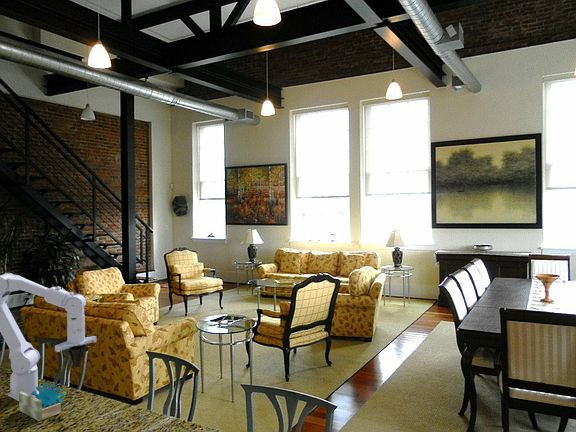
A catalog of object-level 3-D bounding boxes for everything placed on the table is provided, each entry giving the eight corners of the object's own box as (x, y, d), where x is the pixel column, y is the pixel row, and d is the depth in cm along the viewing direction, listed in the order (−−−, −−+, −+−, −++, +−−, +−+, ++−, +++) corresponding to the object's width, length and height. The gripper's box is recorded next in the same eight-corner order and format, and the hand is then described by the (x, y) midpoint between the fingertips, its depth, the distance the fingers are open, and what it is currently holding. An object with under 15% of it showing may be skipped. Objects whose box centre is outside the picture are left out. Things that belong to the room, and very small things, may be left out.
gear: (33, 412, 145) (30, 383, 151) (27, 421, 148) (24, 393, 153) (69, 406, 152) (65, 379, 158) (63, 415, 155) (59, 388, 161)
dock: (19, 410, 150) (19, 392, 150) (41, 403, 156) (40, 385, 156) (38, 421, 143) (38, 402, 142) (61, 412, 148) (60, 394, 148)
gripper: (62, 335, 156) (62, 374, 156) (101, 326, 168) (101, 362, 168) (51, 332, 160) (52, 370, 160) (90, 323, 172) (90, 359, 172)
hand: (76, 366), depth 165 cm, fingers closed
